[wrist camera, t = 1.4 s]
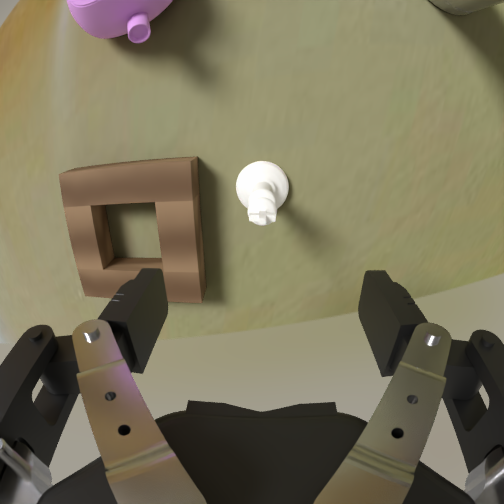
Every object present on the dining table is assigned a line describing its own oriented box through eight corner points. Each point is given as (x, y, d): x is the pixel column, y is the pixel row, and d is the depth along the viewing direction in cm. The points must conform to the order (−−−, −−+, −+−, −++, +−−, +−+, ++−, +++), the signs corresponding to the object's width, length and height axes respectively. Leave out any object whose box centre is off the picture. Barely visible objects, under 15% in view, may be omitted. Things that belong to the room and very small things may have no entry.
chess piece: (287, 212, 29) (298, 257, 20) (236, 211, 29) (223, 255, 20) (289, 162, 27) (304, 184, 18) (236, 160, 27) (222, 182, 18)
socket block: (74, 168, 27) (58, 174, 25) (197, 156, 27) (190, 161, 24) (96, 282, 33) (85, 295, 31) (206, 287, 33) (201, 303, 30)
